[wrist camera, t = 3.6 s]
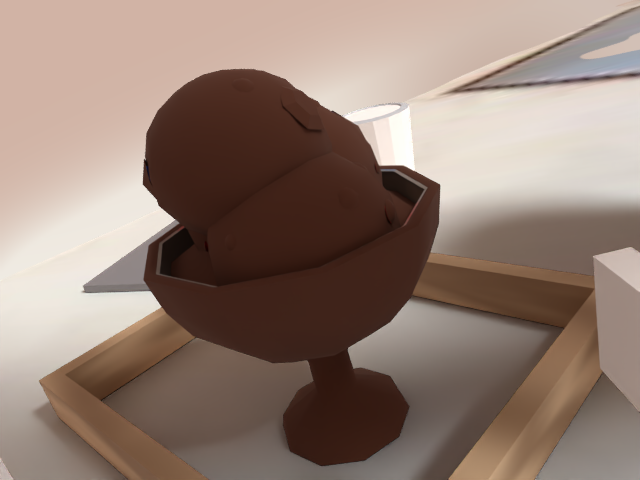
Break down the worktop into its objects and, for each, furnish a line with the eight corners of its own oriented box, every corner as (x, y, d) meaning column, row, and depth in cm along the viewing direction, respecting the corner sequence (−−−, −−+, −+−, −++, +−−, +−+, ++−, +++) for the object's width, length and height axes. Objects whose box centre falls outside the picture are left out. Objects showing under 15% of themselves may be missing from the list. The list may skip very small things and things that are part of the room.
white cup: (438, 175, 50) (425, 98, 47) (391, 205, 46) (373, 123, 43) (380, 173, 55) (365, 103, 52) (333, 200, 51) (314, 125, 48)
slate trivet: (188, 217, 57) (187, 211, 57) (320, 203, 51) (319, 197, 51) (85, 292, 45) (82, 285, 45) (242, 287, 38) (240, 279, 38)
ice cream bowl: (506, 503, 18) (430, 27, 13) (189, 539, 20) (0, 136, 14) (456, 327, 28) (401, 14, 22) (246, 362, 30) (146, 80, 24)
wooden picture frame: (296, 262, 40) (287, 232, 39) (630, 328, 25) (628, 281, 24) (58, 417, 29) (38, 380, 28) (387, 710, 14) (367, 650, 13)
